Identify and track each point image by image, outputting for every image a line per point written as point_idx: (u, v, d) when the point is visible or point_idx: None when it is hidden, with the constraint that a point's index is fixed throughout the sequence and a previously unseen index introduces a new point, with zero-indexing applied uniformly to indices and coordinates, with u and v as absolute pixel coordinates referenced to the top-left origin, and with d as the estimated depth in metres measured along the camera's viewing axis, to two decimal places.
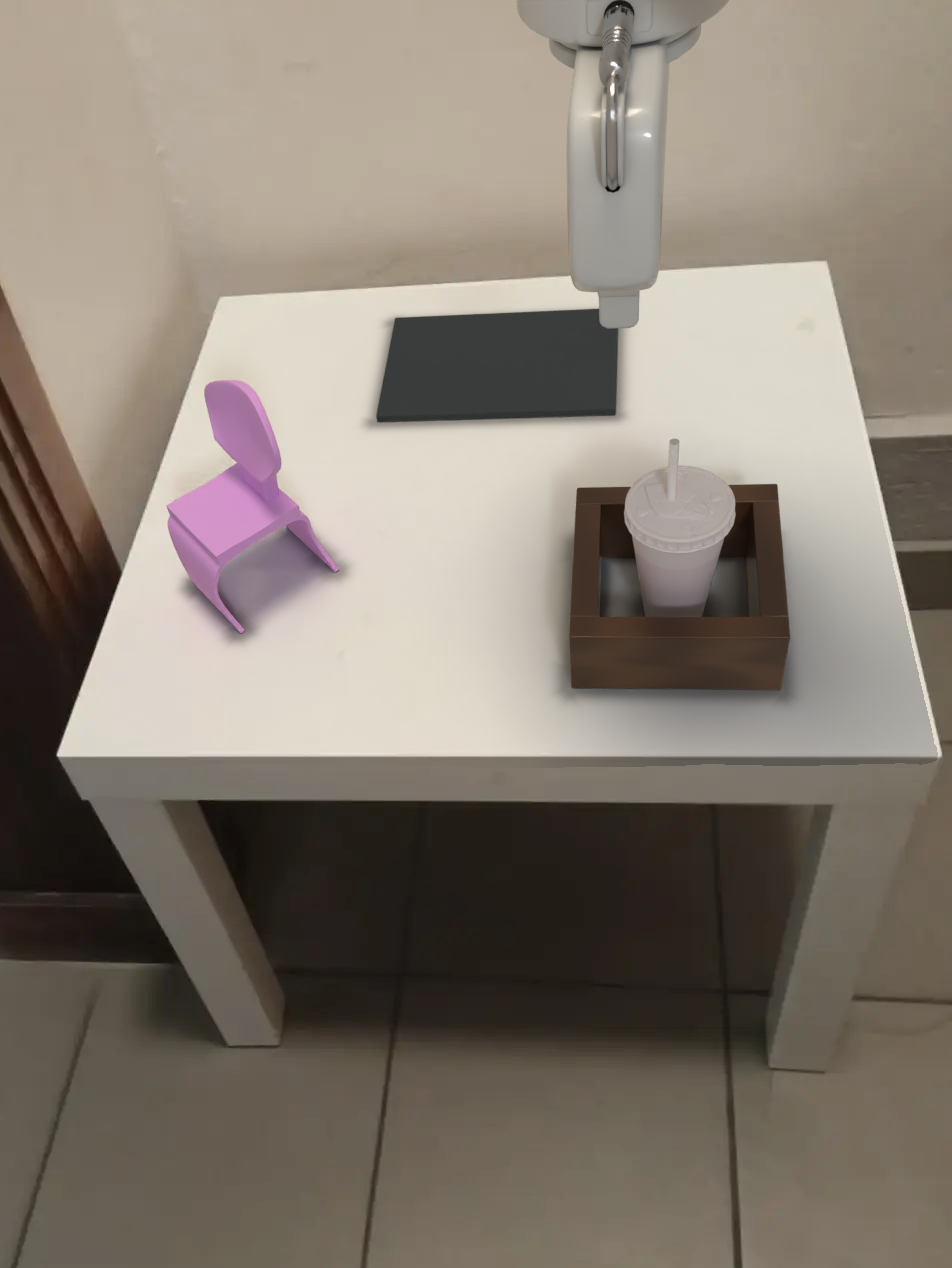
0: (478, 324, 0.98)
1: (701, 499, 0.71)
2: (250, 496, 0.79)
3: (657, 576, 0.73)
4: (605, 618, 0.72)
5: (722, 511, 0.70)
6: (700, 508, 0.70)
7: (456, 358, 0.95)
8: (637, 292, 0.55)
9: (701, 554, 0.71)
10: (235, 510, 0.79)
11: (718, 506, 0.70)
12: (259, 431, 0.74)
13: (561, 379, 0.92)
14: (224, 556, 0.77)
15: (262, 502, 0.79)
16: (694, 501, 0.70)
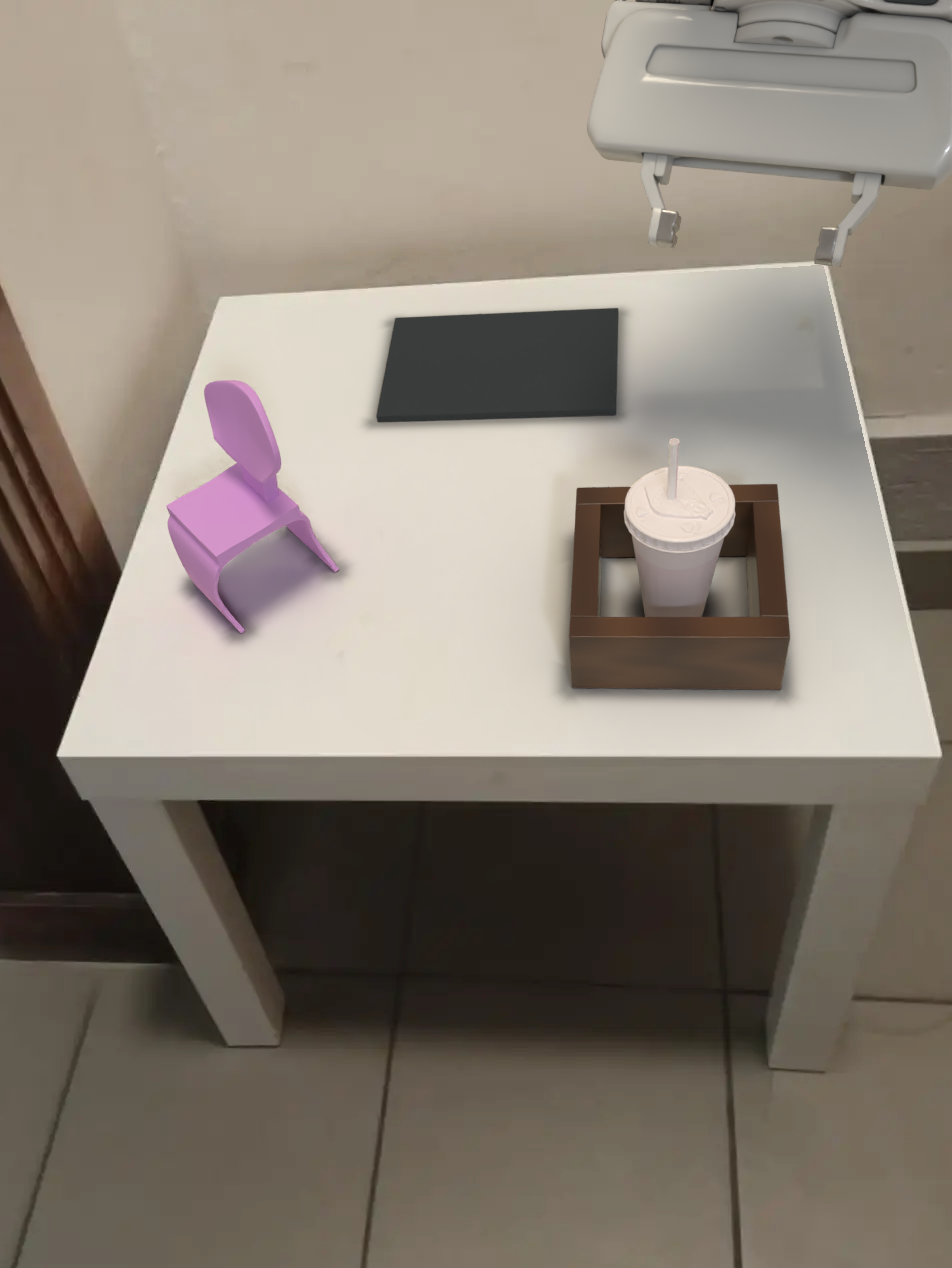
0: (478, 324, 0.98)
1: (701, 499, 0.71)
2: (250, 496, 0.79)
3: (657, 576, 0.73)
4: (605, 618, 0.72)
5: (722, 511, 0.70)
6: (700, 508, 0.70)
7: (456, 358, 0.95)
8: None
9: (701, 554, 0.71)
10: (235, 510, 0.79)
11: (718, 506, 0.70)
12: (259, 431, 0.74)
13: (561, 379, 0.92)
14: (224, 556, 0.77)
15: (262, 502, 0.79)
16: (694, 501, 0.70)
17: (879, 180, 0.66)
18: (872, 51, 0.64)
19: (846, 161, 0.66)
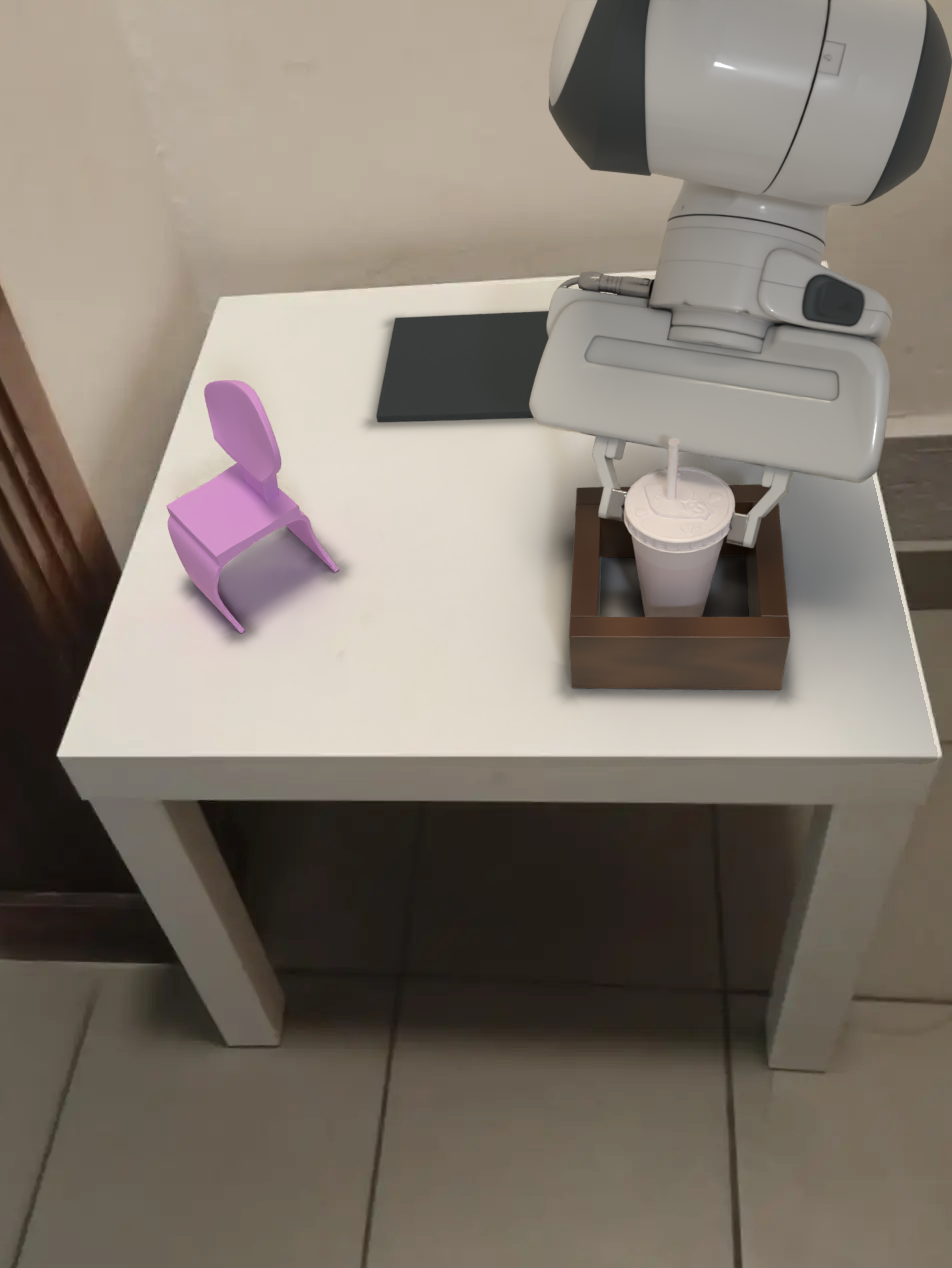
0: (478, 324, 0.98)
1: (701, 499, 0.71)
2: (250, 496, 0.79)
3: (657, 576, 0.73)
4: (605, 618, 0.72)
5: (722, 511, 0.70)
6: (700, 508, 0.70)
7: (456, 358, 0.95)
8: (600, 480, 0.72)
9: (700, 554, 0.71)
10: (235, 510, 0.79)
11: (718, 506, 0.70)
12: (259, 431, 0.74)
13: None
14: (224, 556, 0.77)
15: (262, 502, 0.79)
16: (694, 501, 0.70)
17: (787, 474, 0.68)
18: (797, 360, 0.66)
19: (771, 459, 0.68)
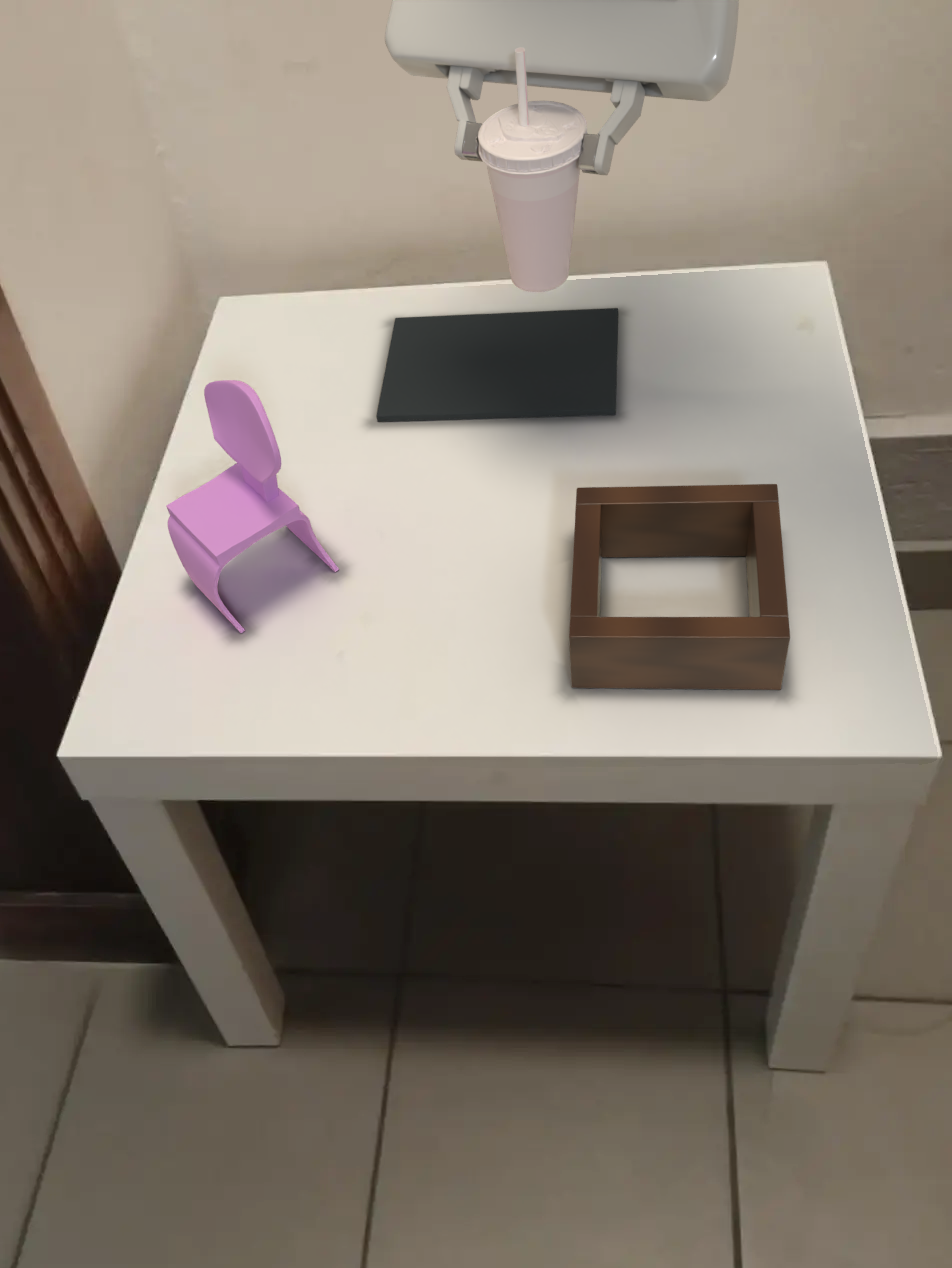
0: (478, 324, 0.98)
1: (553, 125, 0.70)
2: (250, 496, 0.79)
3: (514, 214, 0.72)
4: (605, 618, 0.72)
5: (573, 134, 0.70)
6: (551, 131, 0.70)
7: (456, 358, 0.95)
8: (455, 114, 0.72)
9: (553, 180, 0.70)
10: (235, 510, 0.79)
11: (570, 130, 0.70)
12: (259, 431, 0.74)
13: (561, 379, 0.92)
14: (224, 556, 0.77)
15: (262, 502, 0.79)
16: (546, 126, 0.70)
17: (635, 87, 0.68)
18: None
19: (618, 69, 0.67)
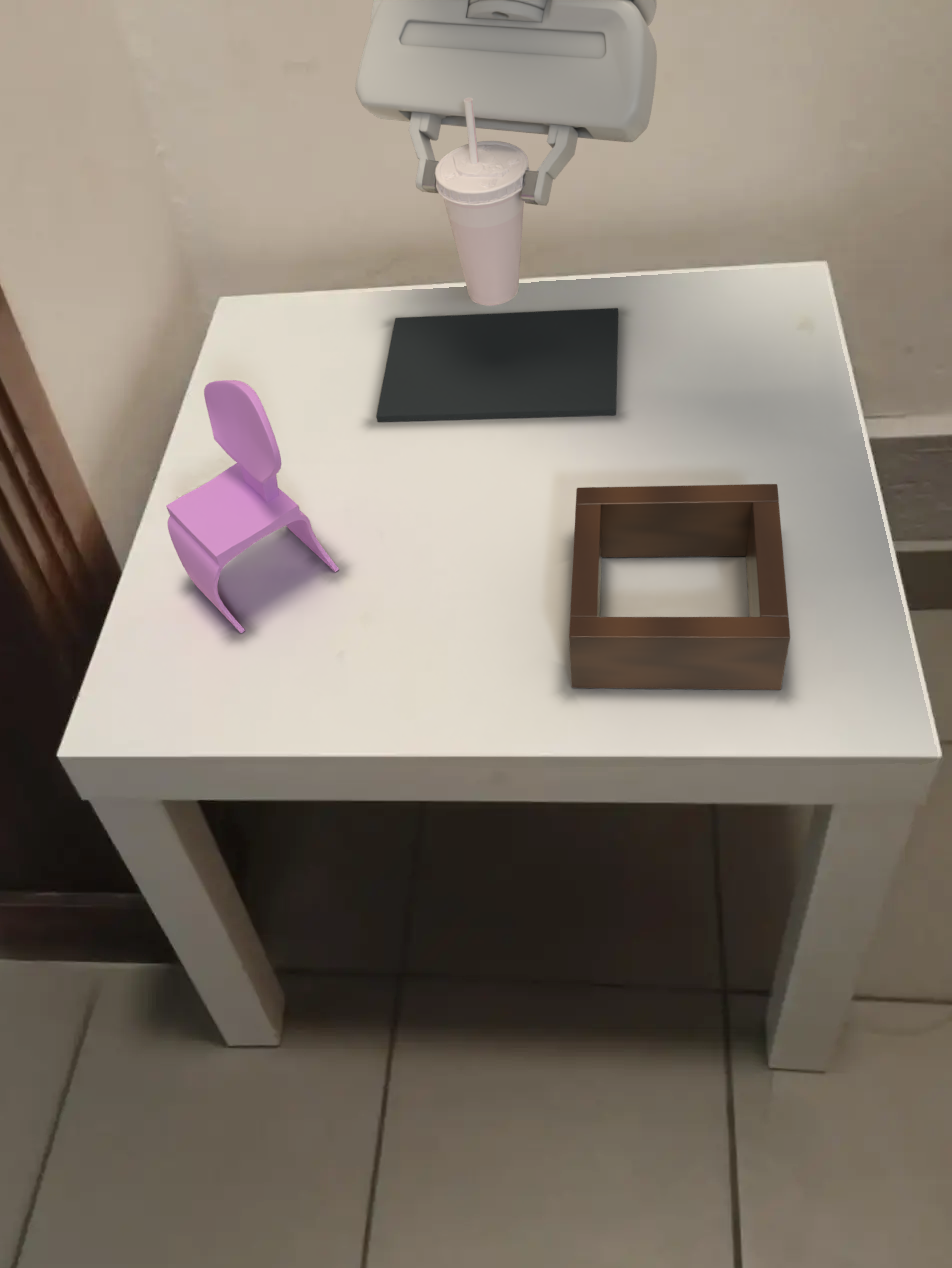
0: (478, 324, 0.98)
1: (499, 162, 0.82)
2: (250, 496, 0.79)
3: (467, 238, 0.84)
4: (605, 618, 0.72)
5: (516, 170, 0.81)
6: (497, 168, 0.81)
7: (456, 358, 0.95)
8: (416, 153, 0.83)
9: (499, 210, 0.82)
10: (235, 510, 0.79)
11: (513, 167, 0.81)
12: (259, 431, 0.74)
13: (561, 379, 0.92)
14: (224, 556, 0.77)
15: (262, 502, 0.79)
16: (493, 163, 0.81)
17: (568, 131, 0.79)
18: (571, 24, 0.77)
19: (553, 116, 0.79)
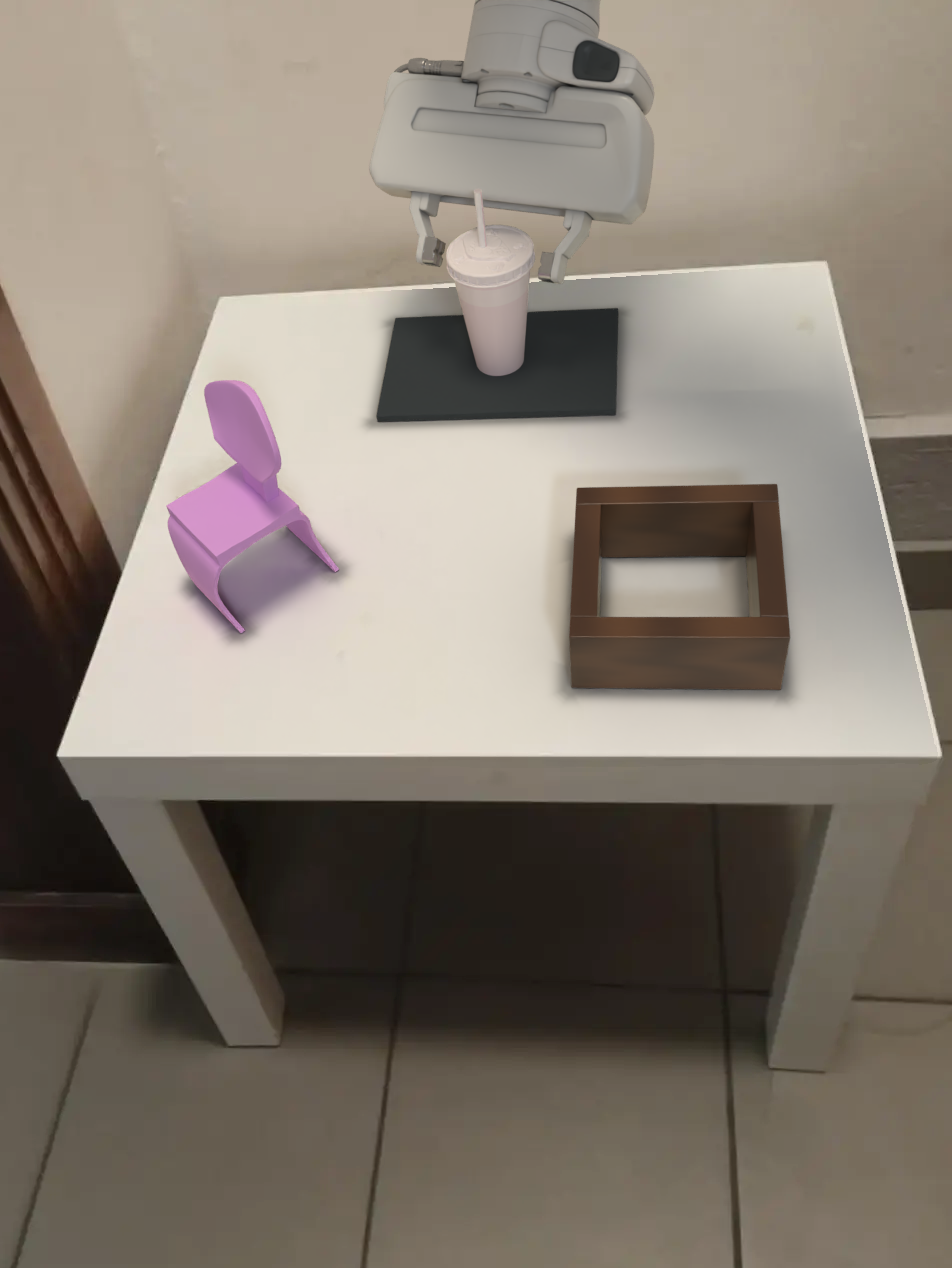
0: None
1: (506, 246, 0.87)
2: (250, 496, 0.79)
3: (475, 316, 0.89)
4: (605, 618, 0.72)
5: (522, 254, 0.86)
6: (504, 252, 0.86)
7: (456, 358, 0.95)
8: (416, 230, 0.88)
9: (506, 291, 0.87)
10: (235, 510, 0.79)
11: (519, 251, 0.86)
12: (259, 431, 0.74)
13: (561, 379, 0.92)
14: (224, 556, 0.77)
15: (262, 502, 0.79)
16: (500, 247, 0.87)
17: (583, 216, 0.84)
18: (573, 116, 0.82)
19: (556, 201, 0.84)
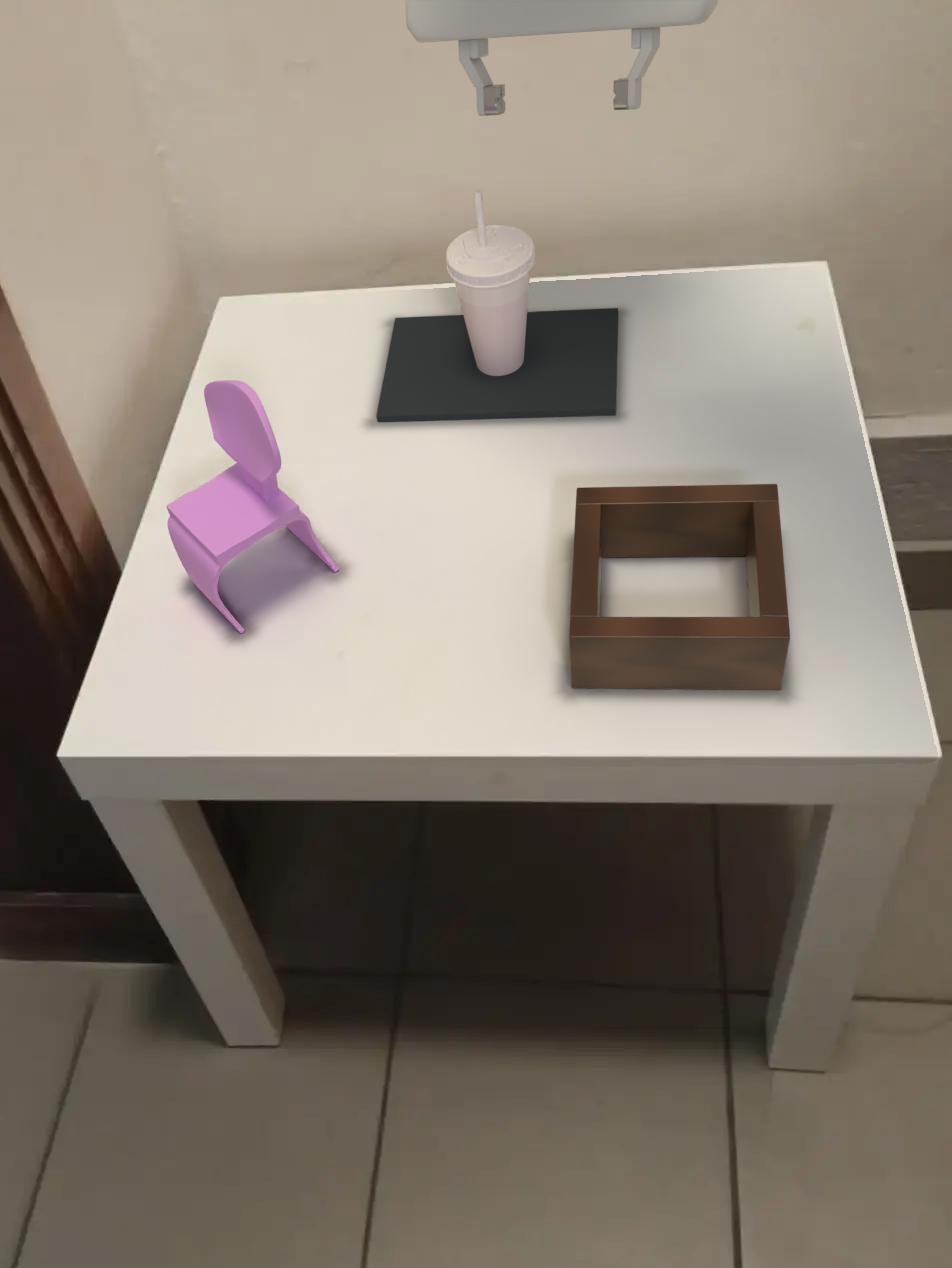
0: None
1: (506, 246, 0.87)
2: (250, 496, 0.79)
3: (475, 316, 0.89)
4: (605, 618, 0.72)
5: (522, 254, 0.86)
6: (504, 252, 0.86)
7: (456, 358, 0.95)
8: (472, 82, 0.82)
9: (506, 291, 0.87)
10: (235, 510, 0.79)
11: (519, 251, 0.86)
12: (259, 431, 0.74)
13: (561, 379, 0.92)
14: (224, 556, 0.77)
15: (262, 502, 0.79)
16: (500, 248, 0.87)
17: (652, 32, 0.77)
18: None
19: (620, 23, 0.77)
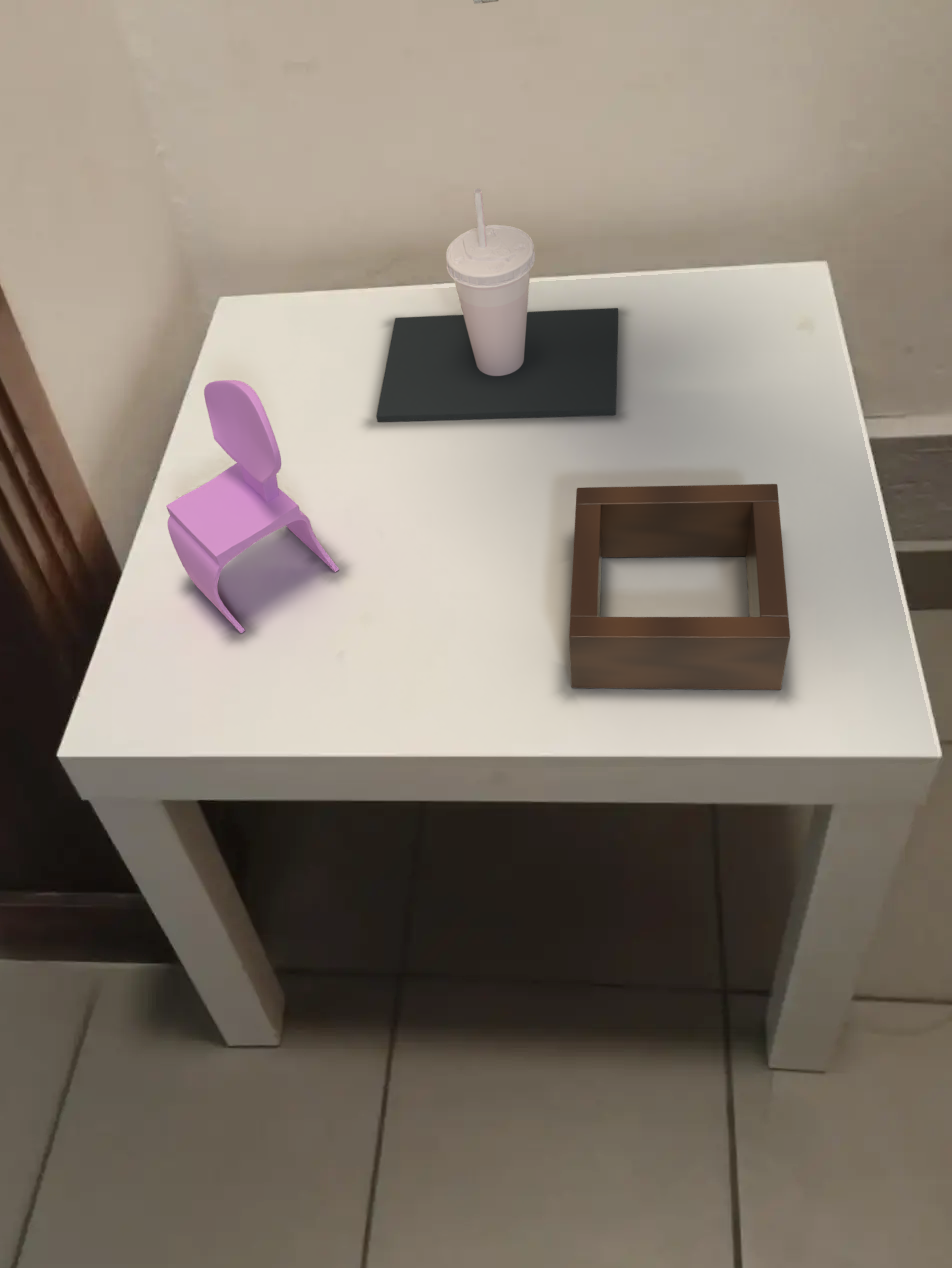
0: None
1: (506, 246, 0.87)
2: (250, 496, 0.79)
3: (475, 316, 0.89)
4: (605, 618, 0.72)
5: (522, 254, 0.86)
6: (504, 252, 0.86)
7: (456, 358, 0.95)
8: None
9: (506, 291, 0.87)
10: (235, 510, 0.79)
11: (519, 251, 0.86)
12: (259, 431, 0.74)
13: (561, 379, 0.92)
14: (224, 556, 0.77)
15: (262, 502, 0.79)
16: (500, 248, 0.87)
17: None
18: None
19: None
